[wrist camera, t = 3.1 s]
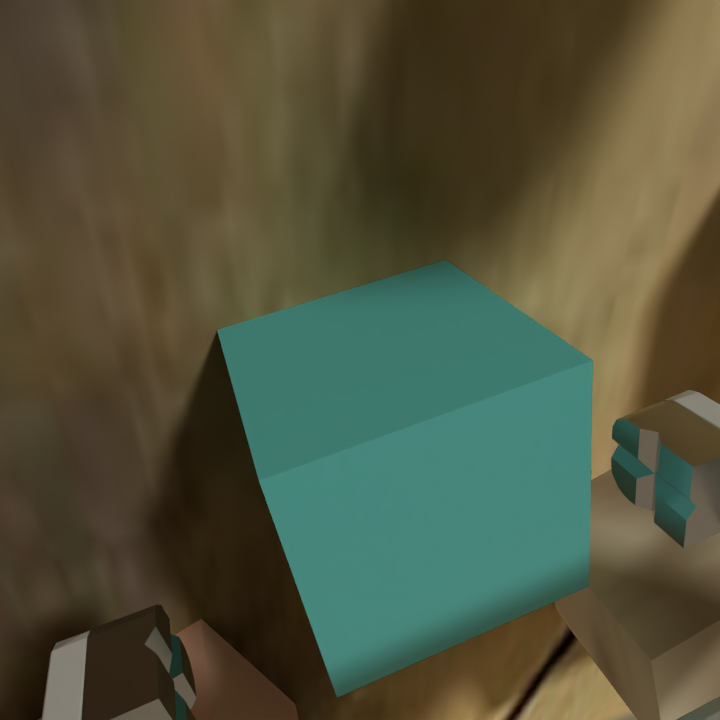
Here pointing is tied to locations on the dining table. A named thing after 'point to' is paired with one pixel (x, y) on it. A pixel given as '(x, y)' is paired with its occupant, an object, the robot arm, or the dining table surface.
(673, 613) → the maple block
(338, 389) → the teal block
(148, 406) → the dining table surface
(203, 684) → the terracotta block
